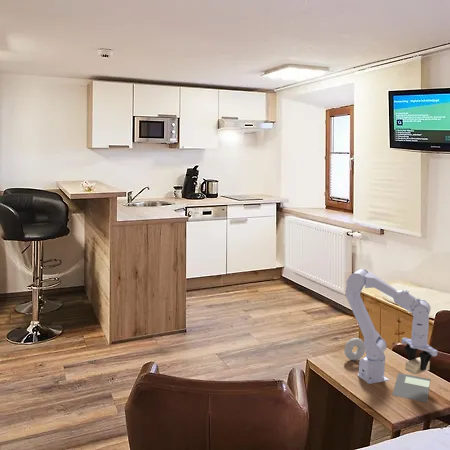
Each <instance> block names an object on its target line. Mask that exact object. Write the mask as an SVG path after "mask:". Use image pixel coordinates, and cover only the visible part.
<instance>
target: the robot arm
mask: <svg viewBox="0 0 450 450" xmlns="http://www.w3.org/2000/svg"><path fill="white" fill-rule="evenodd" d="M345 283H346V287H345V288H346V289H345V296H346V299H347V301H348V304H349V306H350V309H351V311H352V313H353V315H354V317H355V320H356V322H357V324H358V326H359V329H360V332H361V334H362V335H363V342H364V345H365V357H361V358H360V359H359V361H358V373H357V376H358V377H359V378H360V379H362V380H363V381H364V382H366V383H367V384H369V385H370V384H376V383H381V382H387V381H389V380H390V379H389V378H387V377H386V376H385V371H386V370H385V367H386V366H385V365H386V355H385V353H384V352H385V351H386V349H387V347H388V346H387V342H386V340H385V339H384V338H382V337H381V336H382V335H380V333H379V332H378V331H377V330H376V328H375V325H374V323H373V320H372V319H371V317H370V314H369V312H368V310H367V308H366V306H365V303H364V301H363V298H362V297H361V293H362V291H363V288H365V289H369V288H372V289H373V288H374V289H376V290H378V291H380V292H382V293H383V294H385V295H387V296H389V297H390V298H392V299H393V301H394V303H395V304H396V305H398V306H400V307H401V308H403V309H404V310H406V311H408V312H410V313H411V314H412V316H413V317H412V318H413V319H412V320H411V321H412V325H411V326H412V327H411V338H408V337H402V338H401V344H405V346H404V348H403V349H404V350H405V353H406V355H407V358H408V361H409V360H412V359H416V358H417V357H416V356H417V352H418V350H419V351H422V352H419V354H418V355H419V357H420V360H421V366H420V367H421V370H422V371H423V370H426V367H427V364H428V362H429V361H431V359H432V358H433V357H437V356H438V350H437V349H435V348H433V347H432V346H430V345H429V344H428V341H429V327H430V325H429V324H430V323H429V321H430V313H431V305H430V303H429V302H427V300H425V299H421V298H419V297H418V298H417V297H416V296H414V295H412V294H410V291H408V290H404V289H399V290H398V289H396V288H395V287H394V286H391V285H390V284H389V283H387V282H385V280H383V279H381V278H380V277H378V276H376V275H375V274H374V273H373V272H371V271H368V270H367V269H366V268H357V269H356V270H355V271H354V272H353V273H351V274H350V275H349V276H348V278H347V280H346V282H345Z"/></svg>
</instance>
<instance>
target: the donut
mask: <svg viewBox="0 0 450 450" xmlns="http://www.w3.org/2000/svg"><path fill="white" fill-rule="evenodd" d="M355 347H357V348H356V351H355V352H353V349H354V348H355ZM365 349H366V348H365V345H364V340H363V339H361V338H358V337H353V338H350V339H349V340H347V342H346V343H345V345H344V349H343V352H344V355H345V357H346V358H347V360H350V361H358V360H360V359H362V358H363V356H364V354H366V352H365Z"/></svg>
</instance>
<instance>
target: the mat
mask: <svg viewBox="0 0 450 450" xmlns="http://www.w3.org/2000/svg"><path fill="white" fill-rule="evenodd" d="M430 384H431V378H426V377H421V376H416V375H412V374H411V375H410V374H405V373H401V372H398V374H397V377H396V380H395V384H394V387H393V391H392V394H391V395H392V396H394V397H400V398H403V399H408V400H414V401H417V402H422V403H425V404H427V403H428V400H429V392H430Z"/></svg>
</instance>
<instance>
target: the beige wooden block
mask: <svg viewBox="0 0 450 450" xmlns="http://www.w3.org/2000/svg"><path fill="white" fill-rule="evenodd" d="M430 365H431V360H429V362H428V364H427V367H426V370H423V371H422V370H421V367H420V366H421V360H420V356H419V357H415V359H412V360H409V359H408V360H407V361H405V367H404V368H405V369H404V370H405V371H407V372H408V373H411V374H413V375H414V376H416V375H418V374H421V373H424V372H427V371H430Z"/></svg>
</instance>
